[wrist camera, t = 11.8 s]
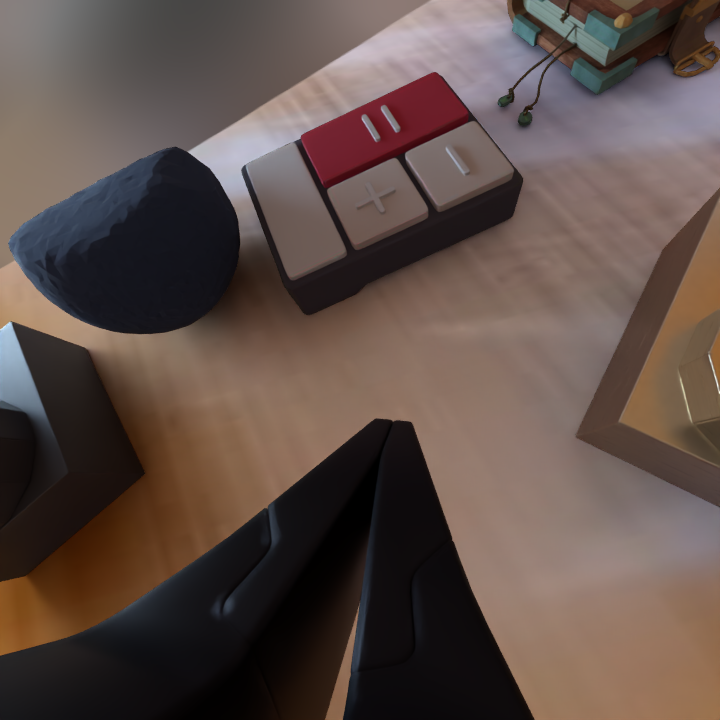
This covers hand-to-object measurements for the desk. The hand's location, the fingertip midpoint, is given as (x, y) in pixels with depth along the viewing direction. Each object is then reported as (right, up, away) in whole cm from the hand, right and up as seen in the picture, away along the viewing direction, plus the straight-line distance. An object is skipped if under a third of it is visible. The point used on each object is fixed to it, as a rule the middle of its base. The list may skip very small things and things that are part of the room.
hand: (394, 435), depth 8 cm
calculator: (+1, +12, +18) cm, 22 cm away
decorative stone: (-13, +7, +19) cm, 24 cm away
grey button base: (-22, -5, +17) cm, 29 cm away
